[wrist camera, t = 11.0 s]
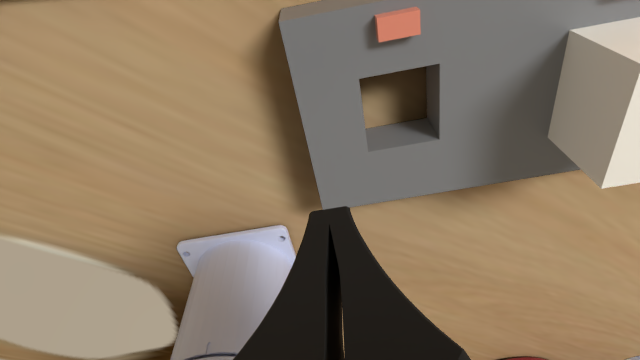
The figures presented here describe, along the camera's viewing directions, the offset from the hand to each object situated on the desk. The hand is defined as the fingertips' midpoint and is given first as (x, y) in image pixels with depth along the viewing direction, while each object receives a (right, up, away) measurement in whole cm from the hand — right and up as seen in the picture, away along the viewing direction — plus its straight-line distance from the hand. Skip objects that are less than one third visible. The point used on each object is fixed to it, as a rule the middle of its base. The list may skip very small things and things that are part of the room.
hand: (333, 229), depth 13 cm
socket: (+8, +7, +7) cm, 13 cm away
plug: (+13, +8, +7) cm, 17 cm away
